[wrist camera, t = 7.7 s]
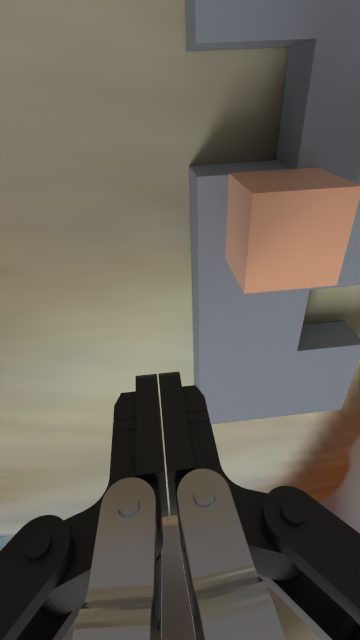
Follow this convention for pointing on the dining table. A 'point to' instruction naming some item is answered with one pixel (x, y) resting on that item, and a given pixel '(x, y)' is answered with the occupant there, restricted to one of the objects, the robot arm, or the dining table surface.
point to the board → (292, 153)
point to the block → (288, 228)
